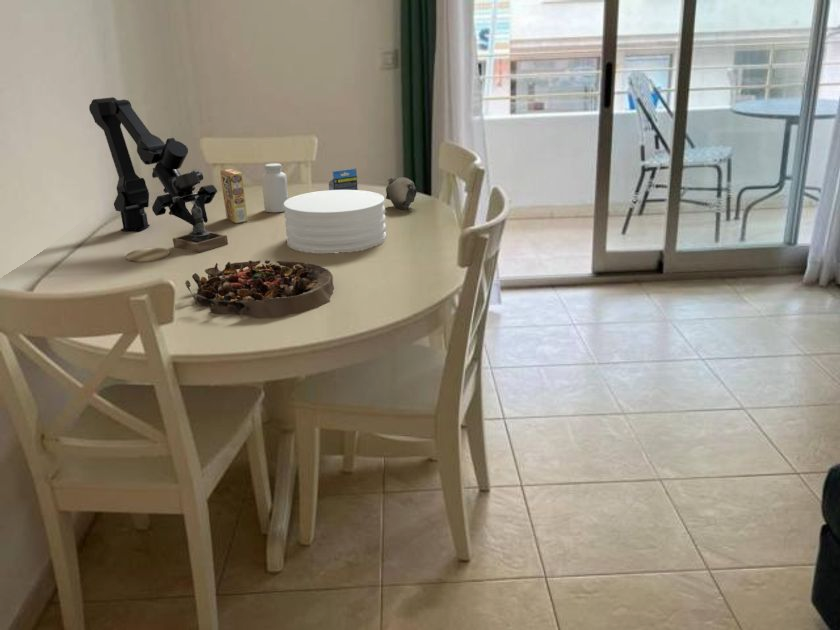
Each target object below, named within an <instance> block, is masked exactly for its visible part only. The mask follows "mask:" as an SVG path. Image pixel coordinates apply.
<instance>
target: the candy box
mask: <svg viewBox="0 0 840 630" xmlns="http://www.w3.org/2000/svg"><path fill="white" fill-rule="evenodd" d="M220 180H221V187H222V194H223V201H224V202H223V203H224V210H225V217H226V219H228V220H230V221H232V222H233V223H234V224H238V223H239V224H240V223H245V222H248V213H247V204H246V197H245V188H244V180H243V173H242V172H240V171H237V170H236V169H232V168H229V169H223V170H220Z"/></svg>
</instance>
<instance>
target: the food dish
mask: <svg viewBox="0 0 840 630" xmlns="http://www.w3.org/2000/svg"><path fill="white" fill-rule="evenodd" d="M275 262H276V263H277V264H279V265H276V264H275V263H271V260H267V259H266V260H265V261H264V263H265V264H264V263H262V265H260V264H261V260H256V261H252V260H248V261H244V262H243V261H241V262H233V263H231V262H230V261H228V262H227V263H226V264H225V266H224V269H223V270H220V269H219V267H218V265H219V264H218V262H216V263H215V265H214V267H209V268H205V269H204V272H205V273H206V274H207V278H208V279H207V278H206V277H204V276H201V277H200V276H199V274H198V273H196V272H195V273H194V274H192V276H191V277H192V279H193V280H194V282H195V283H196V285H197V287H198V288H197V289H196V290H197V291H196V293H195V292H192V291H191V288H190V287H191V286H192V285H191V282H190V280H188V279H187V280H186V281H185V283H184V284H185V287H186V288H187V290H189V292H190V294H191V295H192V297H193V299H194V301H195V304H197V306H199V307H201V308H204V307H207V308H210V312H211V313H213V314H215V315H222V316H224V315H225V316H226V315H228V316H229V315H230V316H249V317H251V318H254V319H258V320H259V319H260V320H261V319H280V318H284V317H287V316H290V315H298V314H302V313H306V312H309V311H311V310H314V309H315V310H316V309H318V308H319V307H322V306H325V305H326V304H329V303H330V302H331V297H332V296H333V294H334V291H333V290H335V288H334V286H335V285H334V283H333V282H334V280H333V279H334V278H333V277H334V276H333V274H332V272H331V271H330V270H329V269H328V268H326V267H323V266H322V265H319V264H314V263H311V262H305V261H299V260H298V261H295V260H290V261H289V260H288V261H287V260H284V261H282V260H278V261H275ZM247 268H248V269H247ZM237 270H239V271H237Z"/></svg>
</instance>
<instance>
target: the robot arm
mask: <svg viewBox="0 0 840 630" xmlns="http://www.w3.org/2000/svg"><path fill="white" fill-rule="evenodd" d="M131 103H132V102H130V101H129V100H128V99H117V98H115V97H113V96H110V97H103V98H95V99H92V100H91V102H90V104H89V108H88V109H89V113H90V114H91V116H92V118H93V120H94V122H95V124H96V125H97V126H98V127H99V128H100V129H101V130H102V131H103V133H104V135H105V139H106V142H107V145H108V147H109V151H110V154H111V157H112V160H113V164H114V167H115V170H116V173H117V175H118V181H117V184H116V192H117V193H116V194H117V195H116V198H115V200H114V202H113V206H114V209H115V211H116V212H120V216H121V222H122V228H120V231H121V232H124V231H125V232H126V231H127V232H129V231H130V232H141V231H144V229H147V228H148V227H150V226H151V225H150V224H149V221H148V215H147V214H148V213H147V212H146V211H145V208H149V204H150V203H149V202H150V192H149V189H148V186H147V185H146V184H147V183H146V179H145V178H144V177H139V175H138V174H137V173H136V171H135V167H134V165H133V162H132V158H131V155H130V152H129V150H128V146H127V143H126V140H125V137H124V132H123V130H122V127H121V125H122V126H123V127H124V129H125V130H126V132H127V133H128V134H129V135H130V137H131V139H132V140H133V141H134V142H135V144H136V152H137V154H138V157H139V158H140V161H141V162H142V163H143V164H144V165H147V166H150V165H154V164H155V165H154V167H152V173H151V177H152V179H155V178H158V179H159V182H160V184H161V185H162V186H163V187H164V188H163V192H164V194H162V195H157V197H156V198H155V200H154V201H153V205H152V207H151V209H152V212H153V214H154V215H155V216H157V217H159V216H162V215H165V214H166V212H167V209H166V208H168V209H169V212H168V214H169V216H174V217H176V218H179V219H180V220H183V221H185V222H186V223H188V224H190V225H191V226H192V227H193V226H195V225H196V222H195V220H194V218H193V217H192V213H191V211H189V209H188V208H187V206H186V205H187V204H186V203H191V204H192V205H193V206H192V207H191V209H192V208H193V207H195V204H196V205H197V206H198V207H200V208H201V210H202V217H203V219H204V221H203V222H204V224H206V223H208V221H209V220H208V216H207V211H206V206H205V205H208V204H210V203H212V202H213V199H214V197H215V196H216V194H217V193H218V190H217V187H216V186H215V185H214V184H207V185H203V186H200V188H199V190H198V191H197V192H194V193H193V191H195V189H196V185H198V184H201V182H202V181H203V180H204V175H203V173H202V171H200V169H198V168H197V169H193V170H192V171H191V172H187V173H183V174H181V173H180V171H179V169H180V168H182V166H183V164H184V161H185V160H186V158H187V155H188V154H189V148H188V147H187V145H186V144H184V143H183V142H181V141H178V140H176V139H175V138H174V137H170V138H167V139H166V141H165V142H164V141H163V140H162V139H161V138H160V137H159V136H156V135H154V134H152V133H151V132H150V130H149V129H148V128H147V127H146V125H145V124H144V122H143V120H142V119H141V118H140V117H139V116H138V114H137V112H136V111H135V110H134V108H133V107H132V104H131Z"/></svg>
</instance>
